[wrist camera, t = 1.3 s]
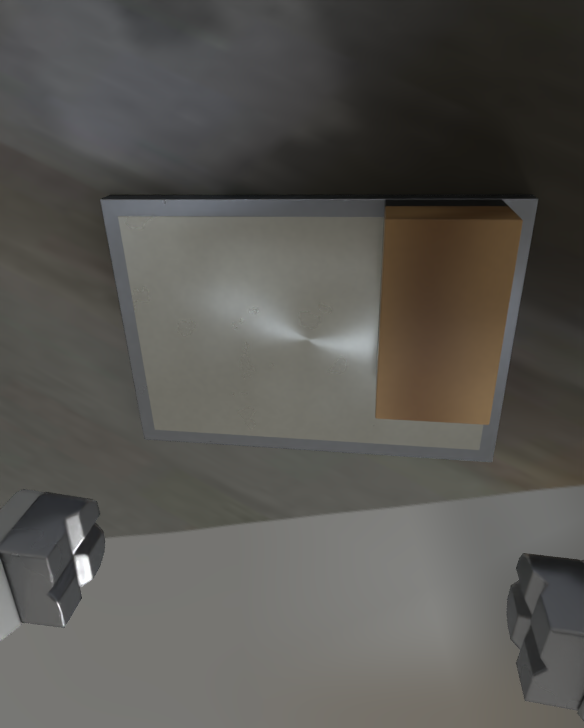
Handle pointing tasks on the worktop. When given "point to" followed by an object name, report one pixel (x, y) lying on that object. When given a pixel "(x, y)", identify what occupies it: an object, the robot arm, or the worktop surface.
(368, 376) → the whiteboard
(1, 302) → the worktop surface
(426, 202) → the eraser
